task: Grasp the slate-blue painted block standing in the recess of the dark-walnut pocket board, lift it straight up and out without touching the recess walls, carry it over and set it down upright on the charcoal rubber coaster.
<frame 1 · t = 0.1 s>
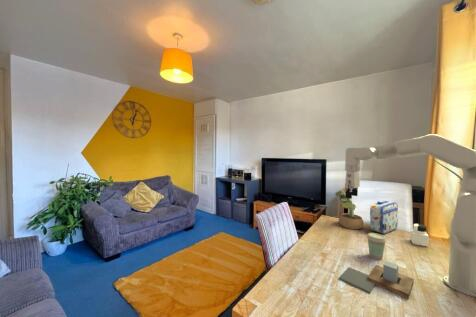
hand: (351, 196, 116), 31 cm above the table, fingers open, 9 cm apart
salt and pepper set: (419, 243, 123), on the table
pocket board: (390, 282, 87), on the table
lunch box: (383, 230, 144), on the table
slate block: (390, 273, 86), in the pocket board
coffee cup: (375, 257, 107), on the table
coaster: (358, 279, 88), on the table
potted plant: (348, 226, 151), on the table
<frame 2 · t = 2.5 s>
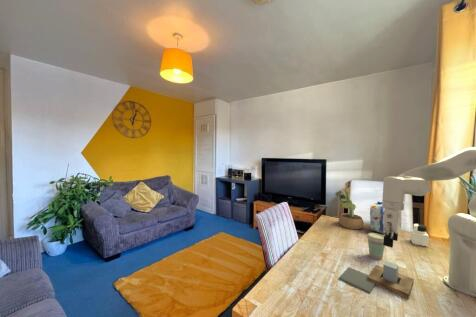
hand: (390, 242, 86), 18 cm above the table, fingers open, 9 cm apart
nothing on the table moved.
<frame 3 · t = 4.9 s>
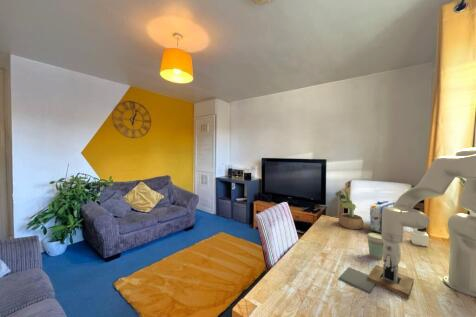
hand: (390, 275, 86), 3 cm above the table, fingers closed on slate block, 4 cm apart
slate block: (390, 273, 86), in the pocket board, touching gripper
everything else where it was.
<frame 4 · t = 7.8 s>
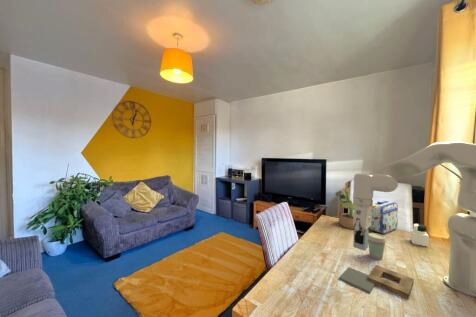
hand: (360, 241, 87), 18 cm above the table, fingers closed on slate block, 4 cm apart
slate block: (360, 238, 87), point 19 cm above the table, touching gripper
everything else where it was.
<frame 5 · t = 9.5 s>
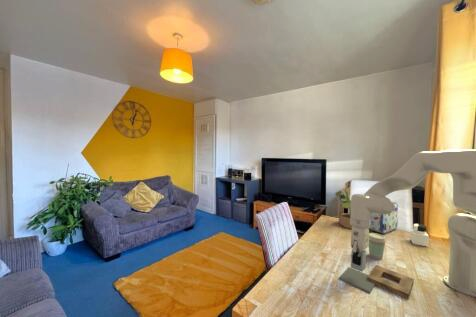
hand: (358, 261, 88), 8 cm above the table, fingers closed on slate block, 4 cm apart
slate block: (358, 259, 88), point 10 cm above the table, touching gripper
everything else where it was.
when the fingers open (5 cm above the table, at t = 11.0 s): slate block drops 1 cm, resting on coaster.
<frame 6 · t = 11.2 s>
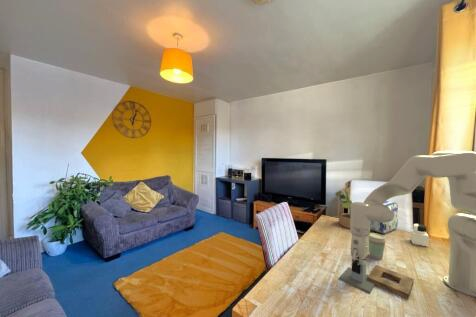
hand: (358, 268, 88), 5 cm above the table, fingers open, 6 cm apart
slate block: (358, 269, 88), on the coaster, point 5 cm above the table
everything else where it was.
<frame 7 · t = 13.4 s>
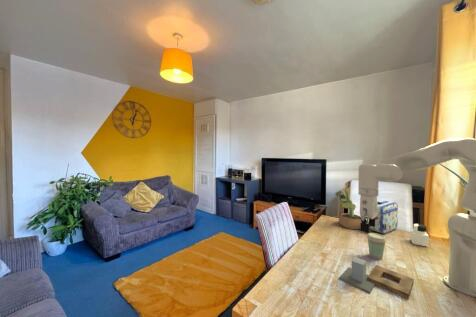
hand: (368, 228, 88), 23 cm above the table, fingers open, 9 cm apart
nothing on the table moved.
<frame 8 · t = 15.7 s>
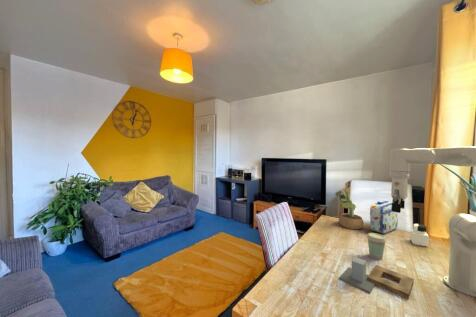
hand: (398, 209, 93), 30 cm above the table, fingers open, 9 cm apart
nothing on the table moved.
at the end: slate block inside the target area (0.1 cm from its centre), point 4.8 cm above the table; slate block tilted 0°; the gripper is holding nothing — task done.
